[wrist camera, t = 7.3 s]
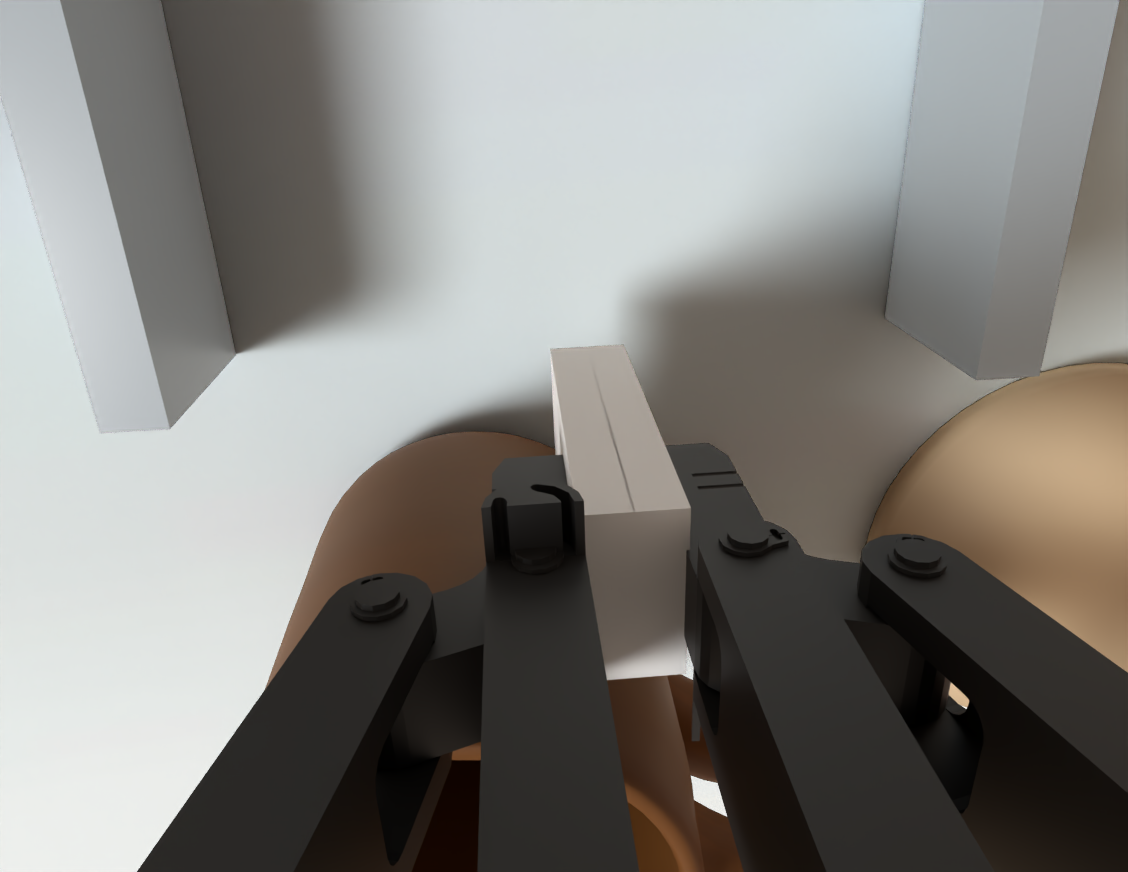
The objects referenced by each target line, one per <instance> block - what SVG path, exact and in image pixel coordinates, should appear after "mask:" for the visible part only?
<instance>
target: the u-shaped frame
mask: <svg viewBox="0 0 1128 872" xmlns="http://www.w3.org/2000/svg"><path fill="white" fill-rule="evenodd" d="M1119 1H1120V0H925V5H924V12H923V20H922V28H921V36H920V44H919V52H918V60H917V68H916V75H915V83H914V91H913V99H912V107H911V115H910V123H909V130H908V138H907V146H906V154H905V162H904V170H903V178H902V186H901V193H900V201H899V209H898V217H897V225H896V233H895V241H894V248H893V256H892V264H891V272H890V280H889V288H888V296H887V304H886V311H885V319H887V320H888V321H890V322H891V323H893V324H894V325H896V326H897V327H899V328H900V329H901V330H903V331H904V332H906V333H907V334H909V335H910V336H912V337H913V338H915V339H916V340H918V341H919V342H921V343H922V344H923V345H925V346H926V347H928V348H929V349H931V350H932V351H934V352H935V353H937V354H938V355H940V356H941V357H943V358H944V359H946V360H947V361H948V362H950V363H951V364H953V365H954V366H956V367H957V368H959V369H960V370H962V371H963V372H965V373H966V374H968V375H969V376H971V377H972V378H973V379H975V380H986V379H1002V378H1019V377H1035V376H1039V375H1040V371H1041V366H1042V361H1043V357H1044V352H1045V347H1046V343H1047V338H1048V333H1049V329H1050V324H1051V319H1052V315H1053V310H1054V305H1055V300H1056V296H1057V291H1058V286H1059V282H1060V277H1061V272H1062V268H1063V263H1064V258H1065V254H1066V249H1067V244H1068V240H1069V235H1070V230H1071V225H1072V221H1073V216H1074V211H1075V207H1076V202H1077V197H1078V193H1079V188H1080V183H1081V179H1082V174H1083V169H1084V165H1085V160H1086V155H1087V150H1088V146H1089V141H1090V136H1091V132H1092V127H1093V122H1094V118H1095V113H1096V108H1097V104H1098V99H1099V94H1100V90H1101V85H1102V80H1103V75H1104V71H1105V66H1106V61H1107V57H1108V52H1109V47H1110V43H1111V38H1112V33H1113V29H1114V24H1115V19H1116V15H1117V10H1118V5H1119ZM0 97H1V100H2V104H3V107H4V110H5V114H6V117H7V120H8V124H9V127H10V131H11V134H12V137H13V141H14V144H15V148H16V151H17V154H18V158H19V161H20V164H21V168H22V171H23V175H24V178H25V181H26V185H27V188H28V192H29V195H30V198H31V202H32V205H33V208H34V212H35V215H36V219H37V222H38V225H39V229H40V232H41V236H42V239H43V242H44V246H45V249H46V252H47V256H48V259H49V263H50V266H51V269H52V273H53V276H54V279H55V283H56V286H57V290H58V293H59V296H60V300H61V303H62V307H63V310H64V313H65V317H66V320H67V323H68V327H69V330H70V334H71V337H72V340H73V344H74V347H75V351H76V354H77V357H78V361H79V364H80V367H81V371H82V374H83V378H84V381H85V384H86V388H87V391H88V395H89V398H90V401H91V405H92V408H93V411H94V415H95V418H96V422H97V425H98V428H99V432H100V433H112V432H129V431H145V430H162V429H170V428H171V427H172V426H173V425H174V424H175V423H176V422H177V421H178V419H179V418H180V417H181V416H182V415H183V414H184V413H185V412H186V410H187V409H188V408H189V407H190V406H191V405H192V404H193V403H194V402H195V400H196V399H197V398H198V397H199V396H200V395H201V394H202V393H203V391H204V390H205V389H206V388H207V387H208V386H209V385H210V384H211V382H212V381H213V380H214V379H215V378H216V377H217V376H218V375H219V373H220V372H221V371H222V370H223V369H224V368H225V367H226V366H227V364H228V363H229V362H230V361H231V360H232V359H233V358H234V357H235V356H236V352H235V348H234V343H233V338H232V334H231V329H230V324H229V319H228V315H227V310H226V305H225V300H224V296H223V291H222V286H221V282H220V277H219V272H218V267H217V263H216V258H215V253H214V249H213V244H212V239H211V234H210V230H209V225H208V220H207V215H206V211H205V206H204V201H203V197H202V192H201V187H200V182H199V178H198V173H197V168H196V164H195V159H194V154H193V149H192V145H191V140H190V135H189V130H188V126H187V121H186V116H185V112H184V107H183V102H182V97H181V93H180V88H179V83H178V79H177V74H176V69H175V64H174V60H173V55H172V50H171V45H170V41H169V36H168V31H167V27H166V22H165V17H164V12H163V8H162V3H161V0H0Z"/></svg>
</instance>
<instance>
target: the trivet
mask: <svg viewBox="0 0 1128 872" xmlns="http://www.w3.org/2000/svg"><path fill="white" fill-rule="evenodd" d="M895 534H911V535H913V534H915V535H921V536H925V537H927V538H930V539H933V540H937V541H940V542H943V543H945V544H947V545H949V546H950V547H952V548H954V549H956V550H958V551H960V552H961V553H962V554H964V555H965V556H967V557H968V558H969V559H971V560H972V561H973V562H975V563H976V564H978V565H979V566H980V567H982V568H983V569H985V570H986V571H987V572H989V573H990V574H991V575H993V576H994V577H996V578H997V579H998V580H1000V581H1001V582H1003V583H1004V584H1005V585H1007V586H1008V587H1010V588H1011V589H1012V590H1014V591H1015V592H1016V593H1018V594H1019V595H1021V596H1022V597H1023V598H1025V599H1026V600H1028V601H1029V602H1030V603H1032V604H1033V605H1035V606H1036V607H1037V608H1039V609H1040V610H1041V611H1043V612H1044V613H1046V614H1047V615H1048V616H1050V617H1051V618H1053V619H1054V620H1055V621H1057V622H1058V623H1060V624H1061V625H1062V626H1064V627H1065V628H1066V629H1068V630H1069V631H1071V632H1072V633H1073V634H1075V635H1076V636H1078V637H1079V638H1080V639H1082V640H1083V641H1085V642H1086V643H1087V644H1089V645H1090V646H1091V647H1093V648H1094V649H1096V650H1097V651H1098V652H1100V653H1101V654H1103V655H1104V656H1105V657H1107V658H1108V659H1109V660H1111V661H1112V662H1114V663H1115V664H1116V665H1118V666H1119V667H1121V668H1122V669H1123V670H1125V671H1126V672H1128V364H1124V363H1090V364H1081V365H1073V366H1066V367H1062V368H1058V369H1054V370H1050V371H1046V372H1041V373H1040V375H1039V376H1035V377H1027V378H1024V379H1022V380H1019V381H1016V382H1013V383H1011V384H1009V385H1007V386H1005V387H1003V388H1001V389H999V390H997V391H995V392H993V393H991V394H989V395H987V396H985V397H984V398H982V399H980V400H979V401H977V402H976V403H974V404H972V405H971V406H969V407H968V408H966V409H964V410H963V411H961V412H960V413H959V414H957V415H956V416H955V417H954V418H952V419H951V420H950V421H948V422H947V423H946V424H945V425H943V426H942V427H941V428H939V429H938V430H937V431H936V432H935V433H934V434H933V435H932V436H931V437H930V438H929V439H928V440H927V441H926V442H925V443H924V444H923V445H922V446H921V447H920V448H919V449H918V450H917V451H916V452H915V454H914V455H913V456H912V457H911V458H910V459H909V461H908V462H907V463H906V464H905V465H904V467H903V468H902V469H901V471H900V472H899V474H898V475H897V477H896V478H895V480H894V481H893V483H892V484H891V486H890V487H889V489H888V490H887V492H886V494H885V496H884V498H883V500H882V502H881V504H880V506H879V508H878V510H877V512H876V514H875V517H874V520H873V523H872V526H871V528H870V531H869V534H868V538H867V543H868V542H869V541H871V540H873V539H876V538H878V537H881V536H884V535H895ZM867 543H866V544H867ZM949 696H950V697H952V698H953V699H954V700H955V701H956V702H957V703H958V704H959V705H962V706H965V707H968V704H969V699H968V698H967V697H966V696H965V695H964V694H963V693H962V692H961V691H960V690H959V689H958V688H957V687H955V686H954V685H953V684H952V683H951V685H950V690H949Z"/></svg>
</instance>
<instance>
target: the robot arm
mask: <svg viewBox="0 0 1128 872" xmlns="http://www.w3.org/2000/svg"><path fill="white" fill-rule="evenodd" d="M550 353H551V374H552V395H553V416H554V437H555V455H549V456H533V457H518V458H505V459H504V460H503V461H502V462H501V463H500V465H499V466H498V467H497V468H496V469H495V470H494V472H493V473H492V493H491V494H490V495H488V496H487V497H486V498H485V500H484V502H483V504H482V507H481V514H482V524H483V535H484V546H485V557H486V566H485V567H484V569H483V570H482V571H481V572H480V573H479V574H477V575H476V576H475V577H474V578H472V579H471V580H469V581H467V582H465V583H463V584H462V585H459V586H456V587H453V588H450V589H448V590H444V591H441V592H437V593H433V594H432V592H431V590H430V588H429V587H428V585H427V583H425V582H423V581H422V580H420V579H419V578H417V577H415V576H412V575H407V574H402V573H379V574H373V575H370V576H366V577H363V578H359V579H357V580H355V581H353V582H351V583H349V584H347V585H345V586H343V587H341V588H340V589H339V590H338V591H337V592H336V593H335V594H334V595H333V596H332V597H331V598H330V599H329V600H328V601H327V602H326V604H325V605H324V607H323V608H322V610H321V611H320V612H319V614H318V615H317V617H316V618H315V619H314V621H313V622H312V624H311V625H310V627H309V628H308V629H307V631H306V632H305V634H304V635H303V637H302V638H301V639H300V641H299V642H298V644H297V645H296V646H295V648H294V649H293V651H292V652H291V654H290V655H289V656H288V658H287V659H286V661H285V662H284V664H283V665H282V666H281V668H280V669H279V671H278V672H277V673H276V675H275V676H274V678H273V679H272V681H271V682H270V683H269V685H268V686H267V688H266V689H265V691H264V692H263V693H262V695H261V696H260V698H259V699H258V700H257V702H256V703H255V705H254V706H253V708H252V709H251V710H250V712H249V713H248V715H247V716H246V718H245V719H244V720H243V722H242V723H241V725H240V726H239V727H238V729H237V730H236V732H235V733H234V735H233V736H232V737H231V739H230V740H229V742H228V743H227V745H226V746H225V747H224V749H223V750H222V752H221V753H220V754H219V756H218V757H217V759H216V760H215V762H214V763H213V764H212V766H211V767H210V769H209V770H208V772H207V773H206V774H205V776H204V777H203V779H202V780H201V781H200V783H199V784H198V786H197V787H196V789H195V790H194V791H193V793H192V794H191V796H190V797H189V799H188V800H187V801H186V803H185V804H184V806H183V807H182V808H181V810H180V811H179V813H178V814H177V816H176V817H175V818H174V820H173V821H172V823H171V824H170V826H169V827H168V828H167V830H166V831H165V833H164V834H163V835H162V837H161V838H160V840H159V841H158V843H157V844H156V845H155V847H154V848H153V850H152V851H151V853H150V854H149V855H148V857H147V858H146V860H145V861H144V862H143V864H142V865H141V867H140V868H139V870H138V871H137V872H412V869H413V866H414V864H415V861H416V858H417V856H418V853H419V850H420V848H421V845H422V842H423V840H424V837H425V834H426V832H427V829H428V826H429V824H430V821H431V818H432V816H433V813H434V810H435V808H436V805H437V802H438V800H439V797H440V794H441V792H442V789H443V786H444V784H445V781H446V778H447V775H448V773H449V770H450V767H451V761H452V753H453V751H456V750H458V749H461V748H464V747H467V746H470V745H473V744H475V743H478V742H481V763H480V799H479V835H478V872H639V866H638V861H637V855H636V849H635V843H634V837H633V831H632V825H631V819H630V813H629V807H628V801H627V796H626V790H625V784H624V778H623V772H622V766H621V760H620V754H619V748H618V742H617V736H616V731H615V725H614V719H613V713H612V707H611V701H610V695H609V689H608V683H607V680H613V679H626V678H639V677H652V676H665V675H678V674H686V658H687V647H688V650H689V653H690V657H691V660H692V663H693V666H694V674H693V703H692V741H700V728H702V731H703V734H704V738H705V741H706V745H707V748H708V752H709V755H710V758H711V762H712V765H713V769H714V772H715V776H716V779H717V782H718V786H719V789H720V793H721V796H722V799H723V803H724V806H725V810H726V813H727V817H728V820H729V823H730V827H731V830H732V834H733V837H734V841H735V844H736V847H737V851H738V854H739V858H740V861H741V864H742V868H743V871H744V872H1128V672H1126V671H1125V670H1123V669H1122V668H1121V667H1119V666H1118V665H1116V664H1115V663H1114V662H1112V661H1111V660H1109V659H1108V658H1107V657H1105V656H1104V655H1103V654H1101V653H1100V652H1098V651H1097V650H1096V649H1094V648H1093V647H1091V646H1090V645H1089V644H1087V643H1086V642H1085V641H1083V640H1082V639H1080V638H1079V637H1078V636H1076V635H1075V634H1073V633H1072V632H1071V631H1069V630H1068V629H1066V628H1065V627H1064V626H1062V625H1061V624H1060V623H1058V622H1057V621H1055V620H1054V619H1053V618H1051V617H1050V616H1048V615H1047V614H1046V613H1044V612H1043V611H1041V610H1040V609H1039V608H1037V607H1036V606H1035V605H1033V604H1032V603H1030V602H1029V601H1028V600H1026V599H1025V598H1023V597H1022V596H1021V595H1019V594H1018V593H1016V592H1015V591H1014V590H1012V589H1011V588H1010V587H1008V586H1007V585H1005V584H1004V583H1003V582H1001V581H1000V580H998V579H997V578H996V577H994V576H993V575H991V574H990V573H989V572H987V571H986V570H985V569H983V568H982V567H980V566H979V565H978V564H976V563H975V562H973V561H972V560H971V559H969V558H968V557H967V556H965V555H964V554H962V553H961V552H960V551H958V550H956V549H954V548H952V547H950V546H949V545H947V544H945V543H943V542H940V541H937V540H933V539H930V538H927V537H925V536H921V535H915V534H913V535H911V534H895V535H884V536H881V537H878V538H876V539H873V540H871V541H869V542H868V543H867V544H866V546H865V547H864V548H863V549H862V552H861V560H860V563H851V562H843V561H835V560H827V559H821V558H816V557H811V556H808V555H805V554H804V552H803V550H802V549H801V547H800V545H799V544H798V542H797V540H796V539H795V538H794V537H793V536H792V535H791V534H790V533H789V532H788V531H787V530H786V529H784V528H781V527H779V526H777V525H775V524H773V523H771V522H767V521H764V520H763V518H762V516H761V514H760V513H759V511H758V509H757V507H756V505H755V504H754V502H753V500H752V498H751V496H750V495H749V493H748V491H747V489H746V487H745V486H743V482H742V480H741V478H740V477H739V475H738V474H736V469H735V468H734V466H733V464H732V462H731V460H730V459H729V457H728V455H726V454H725V453H723V452H722V451H720V450H718V449H717V448H715V447H714V446H712V445H711V444H709V443H700V444H685V445H669V446H665V444H664V441H663V439H662V437H661V434H660V432H659V429H658V427H657V424H656V422H655V420H654V417H653V415H652V412H651V410H650V407H649V405H648V403H647V400H646V398H645V395H644V393H643V390H642V388H641V386H640V383H639V381H638V378H637V376H636V373H635V371H634V369H633V366H632V364H631V361H630V359H629V357H628V354H627V352H626V349H625V347H624V345H608V346H591V347H574V348H557V349H550ZM951 683H952V684H953V685H954V686H955V687H957V688H958V689H959V690H960V691H961V692H962V693H963V694H964V695H965V696H966V697H967V698H968V699H969V704H968V707H967V709H965V708H963V707H962V706H961V705H959V704H958V703H957V702H956V701H955V700H954V699H953V698H952V697H950V696H949V690H950V685H951Z"/></svg>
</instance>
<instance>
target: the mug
mask: <svg viewBox="0 0 1128 872" xmlns="http://www.w3.org/2000/svg"><path fill="white" fill-rule="evenodd" d="M549 455H555V449H554V448H551V447H549V446H546V445H544V444H542V443H539V442H537V441H534V440H530V439H527V438H523V437H520V436H516V435H510V434H504V433H497V432H479V431H470V432H457V433H449V434H444V435H439V436H434V437H429V438H426V439H423V440H420V441H417V442H414V443H411V444H409V445H407V446H405V447H403V448H400V449H398V450H396V451H394V452H392V453H390V454H389V455H387V456H386V457H384V458H383V459H381V460H380V461H378V462H376V463H375V464H374V465H373V466H371V467H370V468H369V469H368V470H367V471H366V472H364V473H363V474H362V475H361V476H360V477H359V478H358V479H357V480H356V481H355V483H354V484H353V485H352V486H351V487H350V488H349V489H348V491H347V492H346V493H345V494H344V495H343V496H342V498H341V500H340V501H339V503H338V504H337V506H336V507H335V509H334V510H333V512H332V514H331V516H330V518H329V520H328V522H327V525H326V527H325V529H324V531H323V534H322V536H321V538H320V541H319V543H318V546H317V548H316V551H315V554H314V557H313V560H312V562H311V565H310V568H309V571H308V574H307V577H306V579H305V582H304V585H303V587H302V590H301V593H300V595H299V598H298V600H297V603H296V605H295V608H294V610H293V613H292V616H291V618H290V621H289V624H288V626H287V629H286V632H285V635H284V638H283V640H282V643H281V646H280V649H279V652H278V655H277V657H276V660H275V663H274V666H273V669H272V671H271V674H270V677H269V680H268V683H267V686H268V685H269V683H270V682H271V681H272V679H273V678H274V676H275V675H276V673H277V672H278V671H279V669H280V668H281V666H282V665H283V664H284V662H285V661H286V659H287V658H288V656H289V655H290V654H291V652H292V651H293V649H294V648H295V646H296V645H297V644H298V642H299V641H300V639H301V638H302V637H303V635H304V634H305V632H306V631H307V629H308V628H309V627H310V625H311V624H312V622H313V621H314V619H315V618H316V617H317V615H318V614H319V612H320V611H321V610H322V608H323V607H324V605H325V604H326V602H327V601H328V600H329V599H330V598H331V597H332V596H333V595H334V594H335V593H336V592H337V591H338V590H339V589H340V588H341V587H343V586H345V585H347V584H349V583H351V582H353V581H355V580H357V579H359V578H363V577H366V576H370V575H373V574H379V573H402V574H407V575H412V576H415V577H417V578H419V579H420V580H422V581H423V582H425V583H427V585H428V587H429V588H430V590H431V592H432V594H433V593H437V592H441V591H444V590H448V589H450V588H453V587H456V586H459V585H462V584H463V583H465V582H467V581H469V580H471V579H472V578H474V577H475V576H476V575H477V574H479V573H480V572H481V571H482V570H483V569H484V567H485V566H486V557H485V546H484V535H483V524H482V514H481V507H482V504H483V502H484V500H485V498H486V497H487V496H488V495H490V494H491V493H492V473H493V472H494V470H495V469H496V468H497V467H498V466H499V465H500V463H501V462H502V461H503V460H504V459H505V458H518V457H533V456H549ZM607 683H608V689H609V695H610V701H611V707H612V713H613V719H614V725H615V731H616V736H617V742H618V748H619V754H620V760H621V766H622V772H623V778H624V784H625V790H626V796H627V801H628V807H629V813H630V819H631V825H632V831H633V837H634V843H635V849H636V855H637V861H638V866H639V872H744V871H743V868H742V864H741V861H740V858H739V854H738V851H737V847H736V844H735V841H734V837H733V834H732V830H731V827H730V823H729V820H728V817H726V816H724V815H722V814H720V813H717V812H715V811H713V810H711V809H709V808H707V807H705V806H704V805H702V804H700V803H698V802H696V801H695V800H694V798H693V789H692V782H691V776H694V777H697V778H700V779H703V780H707V781H711V782H716V783H718V782H717V779H716V776H715V772H714V769H713V765H712V762H711V758H710V755H709V752H708V748H707V745H706V741H705V738H704V734H703V731H702V728H700V741H692V703H693V680H691V679H689V678H687V677H685V676H683V675H682V674H678V675H665V676H652V677H639V678H626V679H613V680H607ZM267 686H266V688H267ZM266 688H265V689H266ZM480 763H481V742H478V743H475V744H473V745H470V746H467V747H464V748H461V749H458V750H456V751H453V753H452V761H451V767H450V770H449V773H448V775H447V778H446V781H445V784H444V786H443V789H442V792H441V794H440V797H439V800H438V802H437V805H436V808H435V810H434V813H433V816H432V818H431V821H430V824H429V826H428V829H427V832H426V834H425V837H424V840H423V842H422V845H421V848H420V850H419V853H418V856H417V858H416V861H415V864H414V866H413V869H412V872H478V835H479V799H480ZM690 775H691V776H690Z"/></svg>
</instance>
